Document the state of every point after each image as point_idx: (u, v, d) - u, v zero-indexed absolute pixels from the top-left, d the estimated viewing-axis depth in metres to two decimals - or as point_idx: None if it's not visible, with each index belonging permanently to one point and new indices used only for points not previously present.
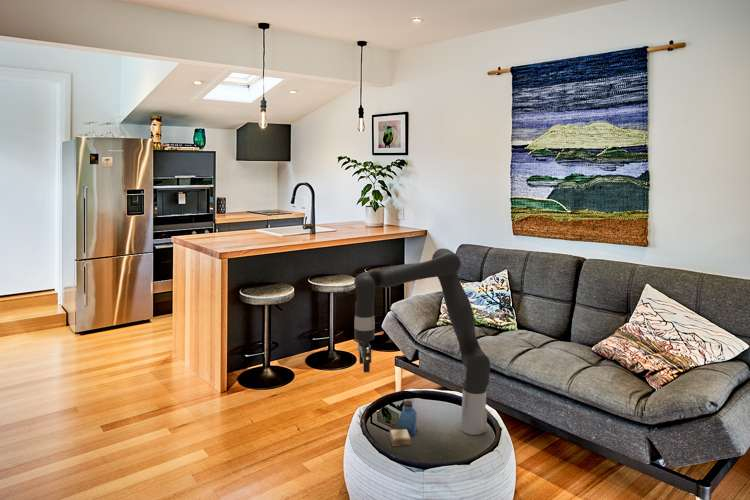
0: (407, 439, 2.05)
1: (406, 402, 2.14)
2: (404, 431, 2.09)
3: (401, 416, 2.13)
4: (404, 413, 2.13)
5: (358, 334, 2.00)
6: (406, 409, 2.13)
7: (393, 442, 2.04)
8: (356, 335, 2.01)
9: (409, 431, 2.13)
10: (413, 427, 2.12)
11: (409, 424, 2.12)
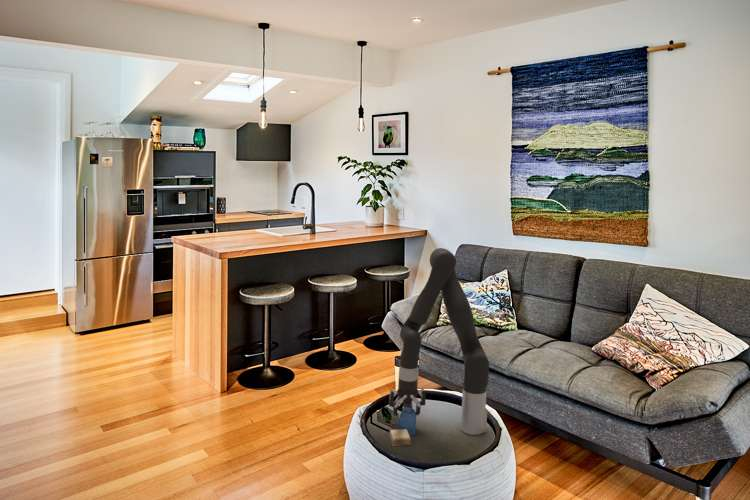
0: (407, 439, 2.05)
1: (406, 402, 2.14)
2: (404, 431, 2.09)
3: (401, 416, 2.13)
4: (404, 413, 2.13)
5: (416, 383, 2.10)
6: (406, 409, 2.13)
7: (393, 442, 2.04)
8: (413, 386, 2.10)
9: (409, 431, 2.13)
10: (413, 427, 2.12)
11: (409, 425, 2.12)
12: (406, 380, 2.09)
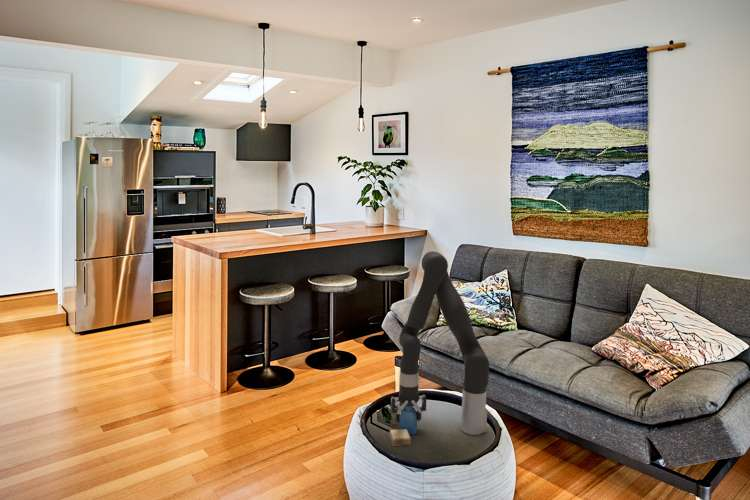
0: (407, 439, 2.05)
1: None
2: (404, 431, 2.09)
3: (401, 415, 2.12)
4: (404, 412, 2.12)
5: (416, 389, 2.10)
6: (406, 408, 2.13)
7: (393, 442, 2.04)
8: (414, 392, 2.10)
9: (410, 430, 2.12)
10: (414, 426, 2.12)
11: (410, 423, 2.12)
12: (407, 386, 2.09)
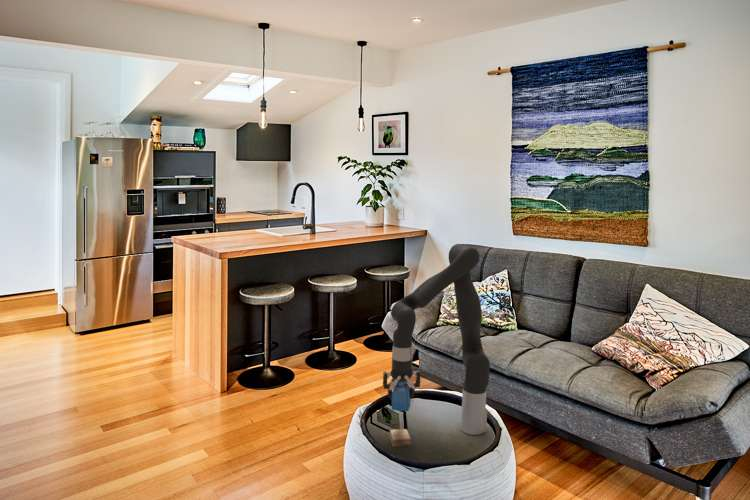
0: (407, 439, 2.05)
1: None
2: (404, 431, 2.09)
3: (394, 391, 2.02)
4: (397, 388, 2.02)
5: (410, 363, 2.00)
6: (399, 384, 2.02)
7: (393, 442, 2.04)
8: (408, 366, 2.00)
9: (403, 407, 2.02)
10: (407, 403, 2.02)
11: (403, 400, 2.02)
12: (400, 360, 1.99)
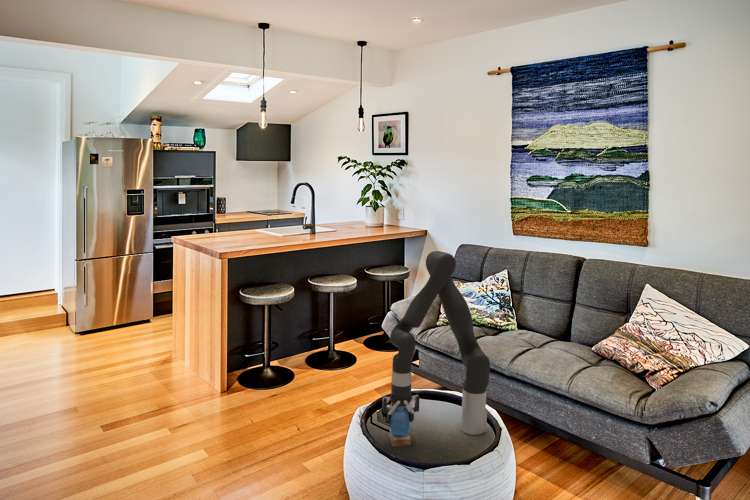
0: (407, 439, 2.05)
1: None
2: None
3: (393, 416, 2.04)
4: (396, 413, 2.04)
5: (409, 388, 2.02)
6: (398, 408, 2.04)
7: (393, 442, 2.04)
8: (407, 391, 2.01)
9: (402, 431, 2.04)
10: (406, 427, 2.03)
11: (402, 424, 2.03)
12: (399, 385, 2.00)
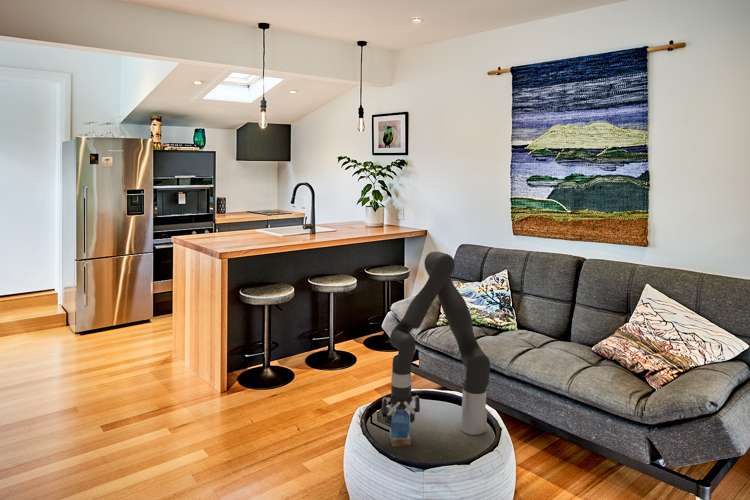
0: (407, 439, 2.05)
1: None
2: None
3: (393, 419, 2.04)
4: (397, 416, 2.04)
5: (409, 390, 2.02)
6: (399, 411, 2.04)
7: (393, 442, 2.04)
8: (407, 393, 2.01)
9: (402, 434, 2.04)
10: (406, 430, 2.04)
11: (402, 427, 2.04)
12: (399, 386, 2.00)
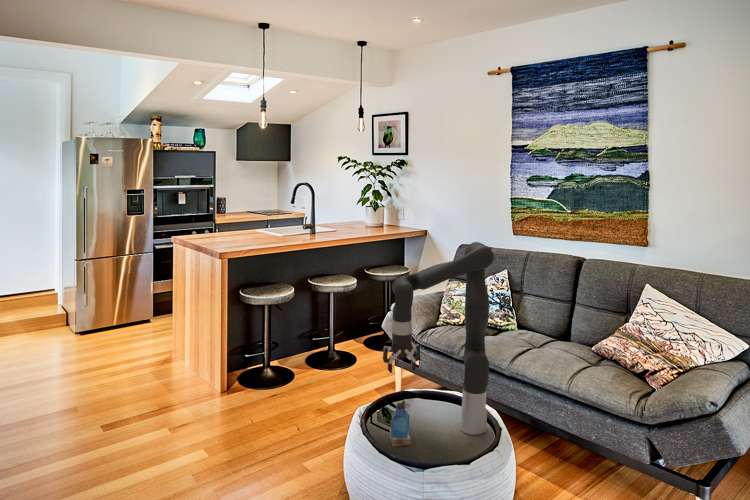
0: (407, 439, 2.05)
1: (398, 404, 2.05)
2: None
3: (393, 419, 2.04)
4: (397, 416, 2.04)
5: (410, 337, 2.04)
6: (398, 411, 2.04)
7: (393, 442, 2.04)
8: (408, 340, 2.03)
9: (402, 434, 2.04)
10: (406, 430, 2.04)
11: (402, 427, 2.04)
12: (400, 334, 2.02)
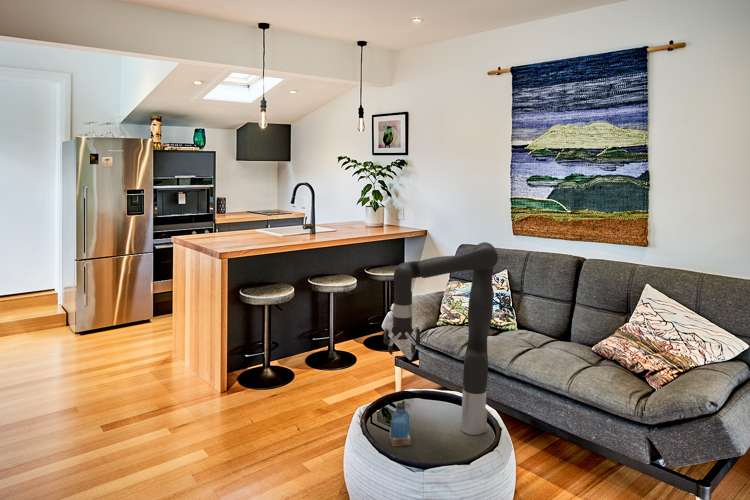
0: (407, 439, 2.05)
1: (398, 404, 2.05)
2: None
3: (393, 419, 2.04)
4: (397, 416, 2.04)
5: (410, 320, 2.11)
6: (398, 411, 2.04)
7: (393, 442, 2.04)
8: (408, 323, 2.10)
9: (402, 434, 2.04)
10: (406, 430, 2.04)
11: (402, 427, 2.04)
12: (400, 317, 2.09)
